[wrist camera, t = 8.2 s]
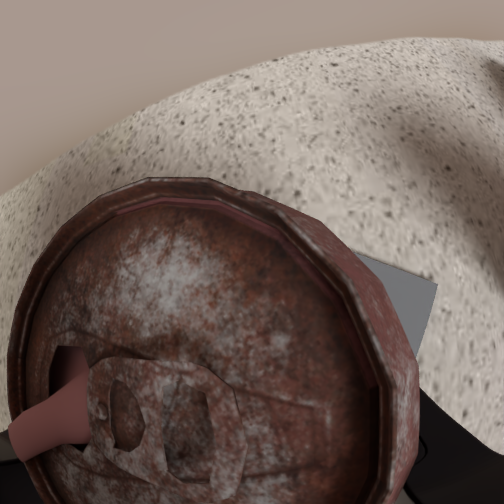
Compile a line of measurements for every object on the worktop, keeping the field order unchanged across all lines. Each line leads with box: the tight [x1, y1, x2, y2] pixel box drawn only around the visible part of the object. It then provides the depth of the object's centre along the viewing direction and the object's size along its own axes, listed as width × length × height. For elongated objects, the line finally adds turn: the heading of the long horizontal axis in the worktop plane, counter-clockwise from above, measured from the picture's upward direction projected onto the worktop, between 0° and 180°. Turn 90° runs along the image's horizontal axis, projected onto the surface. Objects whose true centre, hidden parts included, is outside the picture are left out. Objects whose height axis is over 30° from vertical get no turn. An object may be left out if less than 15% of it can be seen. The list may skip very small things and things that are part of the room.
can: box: [7, 177, 420, 504], centre depth 8 cm, size 6×6×14 cm
